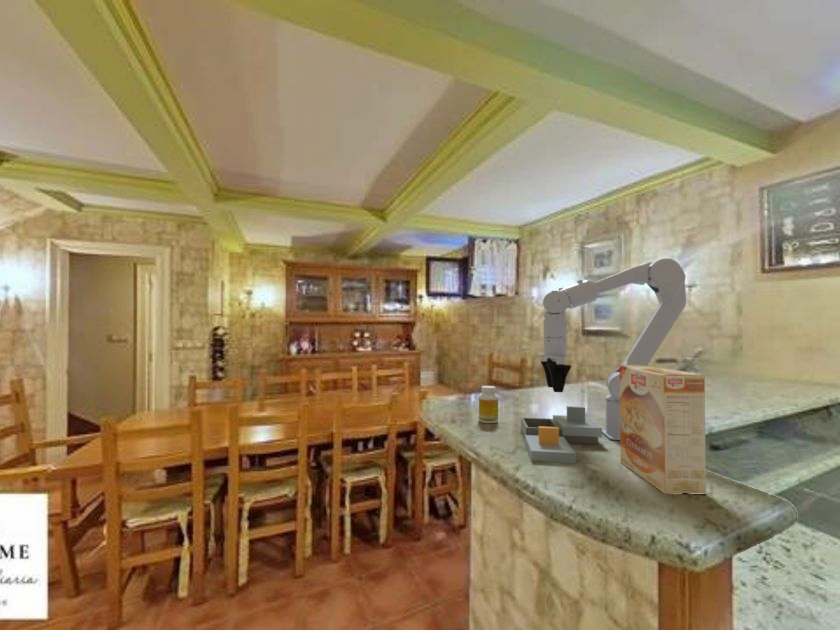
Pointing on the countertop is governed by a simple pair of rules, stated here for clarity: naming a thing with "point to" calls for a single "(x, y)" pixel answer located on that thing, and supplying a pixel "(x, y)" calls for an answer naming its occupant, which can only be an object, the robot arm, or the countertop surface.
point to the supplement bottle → (488, 405)
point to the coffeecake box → (663, 427)
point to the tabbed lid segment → (549, 446)
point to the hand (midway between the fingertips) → (555, 389)
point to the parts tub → (531, 426)
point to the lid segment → (577, 423)
